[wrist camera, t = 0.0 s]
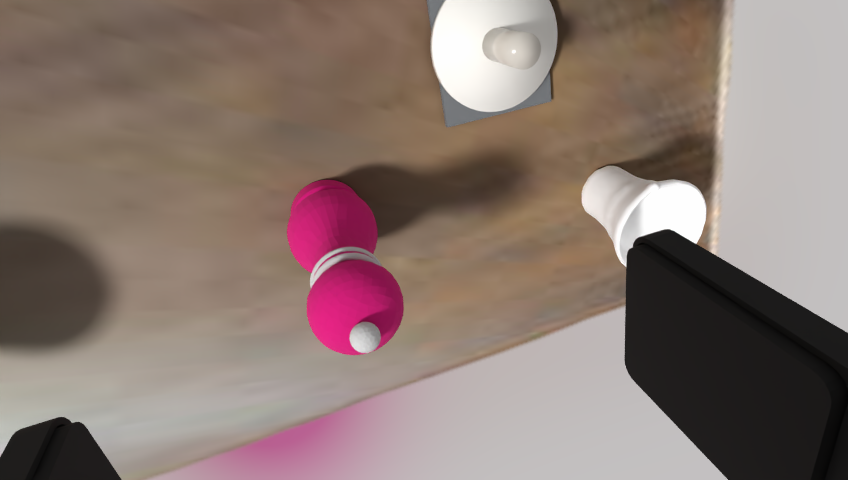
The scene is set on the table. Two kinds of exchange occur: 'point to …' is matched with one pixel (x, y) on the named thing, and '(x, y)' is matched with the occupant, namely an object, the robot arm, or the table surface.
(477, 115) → the mat
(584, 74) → the table surface
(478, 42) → the lid
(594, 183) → the cup
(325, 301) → the pepper mill
